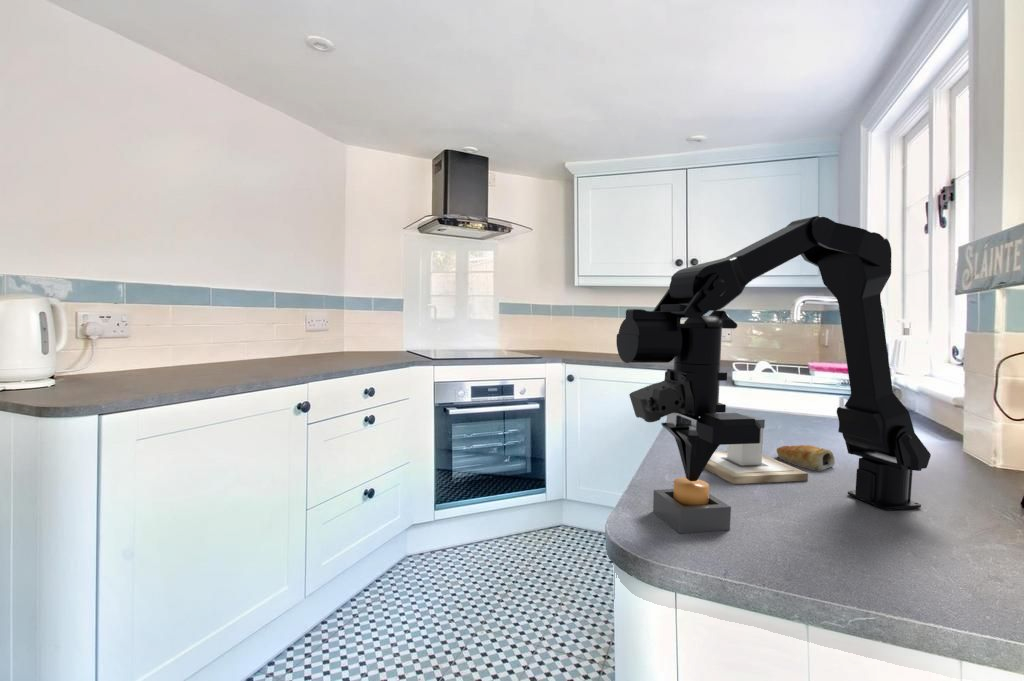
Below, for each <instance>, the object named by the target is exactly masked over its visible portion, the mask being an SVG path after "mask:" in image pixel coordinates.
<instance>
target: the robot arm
mask: <svg viewBox="0 0 1024 681" xmlns="http://www.w3.org/2000/svg"><path fill="white" fill-rule="evenodd" d="M799 256H801V257H802V259H803V261H804V262H807V263H809V264H811V265H813V266H816V267H817V268H818V269H819V273H820V276H821V280H822V283H823V285H824V286H825V287H826V288H827V289H828V291H829V292H830V293H831V294H832V295H833V296H834V298H836V300H837V304H838V310H839V312H838V313H839V316H840V324H841V332H842V338H843V345H844V354H845V361H846V367H847V373H848V374H847V375H848V381H849V387H850V396H849V397H848V399H847V401H846V402H845V404H844V405H843V406H838V407H837V409H836V415H837V419H838V433H840V434H842V436H843V440H844V442H845V445H846V450H847V454H850V455H854V456H857V457H859V458H858V468H856V474H855V475H856V476H855V477H856V478H855V490H848V491H847V495H849V496H851V497H853V498H856V499H858V500H861V501H863V502H865V503H868V504H870V505H873V506H875V507H877V508H880V509H881V510H885V511H889V510H905V509H906V510H907V509H920V508H922V504H921V503H919V502H918V501H914V500H911V497H912V487H913V486H912V484H913V483H912V482H913V472H914V471H916V472H921V471H922V469H927V468H928V465H929V462H930V460H931V457H932V456H931V452H930V451H929V450H928V448H927V447H926V445H924V443H923V441H921V439H920V438H919V437H918V435H917V434H916V433H915V432H916V431H915V428H914V425H913V421H912V418H911V413H910V412H909V410H908V408H906V407H905V405H904V404H903V403H902V402H901V400H900V399H899V398H898V397H897V396H896V394H895V393H894V389H893V385H892V377H891V376H892V375H891V369H890V368H891V367H890V362H889V361H890V360H889V359H890V358H889V353H888V344H887V339H886V337H887V336H886V331H885V330H886V329H885V324H884V322H885V321H884V315H883V308H882V301H881V300H882V299H881V294H882V292H883V290H884V288H885V287H886V284H887V283H888V281H889V279H890V277H891V275H892V247H891V244H890V242H889V239H888V238H886V237H884V236H883V235H882V234H880V233H879V232H871V231H869V230H867V229H865V228H862V227H856V226H854V225H853V226H852V225H848V224H843V223H839V222H836V221H835V220H832V219H830V218H829V217H827V216H826V217H825V216H822V215H815V216H811V217H805V218H802V219H796V220H793V221H791V222H790V223H789V224H787V225H786V226H785V227H782V228H781V229H779V230H777V231H775V232H772V233H771V234H769V235H767V236H765V237H763V238H761V239H759V240H757V241H755V242H753V243H751V244H749V245H747V246H746V247H743V248H742V249H740V250H738V251H736V252H733V253H732V254H729V255H728V256H726V257H723V258H720V259H715V260H710V261H707V262H703V263H699V264H694V265H692V266H689V267H685V268H682V269H679V270H677V271H676V272H675V273H673V275H672V276H671V278H670V283H669V288H668V290H666V292H665V294H664V295H663V296H662V298H661V299H660V301H659V302H658V304H656V306H655V307H654V309H653V310H645V309H639V308H637V309H636V308H634V309H633V308H631V309H630V308H628V309H626V311H625V319H623V321H622V322H621V324H620V327H619V329H618V333H617V334H616V340H615V341H616V349H617V352H618V354H617V355H619V358H620V359H621V361H622V362H623V363H625V364H667V363H670V362H672V361H673V368H666V369H667V370H665V371H664V379H663V380H662V381H659V382H656V383H653V384H650V385H646V386H644V387H642V388H639V389H637V390H634V391H632V392H630V393H629V394H628V395H629V396H628V397H629V398H630V401H631V405H632V409H633V411H634V415H635V417H636V418H638V419H639V418H641V419H642V420H644V421H645V422H646V423H655V422H658V421H660V420H661V418H663V417H666V422H661V423H660V424H661V426H662V427H663V428H664V429H666V430H667V431H668V432H669V433H670V434H671V435H672V436H673V437H674V440H675V442H676V446H677V449H678V452H679V456H680V460H681V463H682V467H683V471H684V474H685V478H687V479H688V480H689V481H697V480H698V479H700V477H701V475H702V474H703V471H704V470H705V466H706V465H707V463H708V461H709V460H710V458H711V456H712V455H713V453H714V452H716V451H717V449H718V448H719V447H720V446H721V445H726V446H728V444H757V443H760V442H761V425H760V424H759V423H758V422H757V421H756V420H755V419H754V418H751V417H748V416H744V415H745V414H741V413H738V412H726V410H727V404H725V403H721V402H720V401H719V400H720V382H721V381H722V382H723V381H728V372H724V371H721V359H722V358H721V355H722V354H721V353H722V334H723V333H722V332H723V329H732V330H733V329H734V330H735V329H737V328H738V323H737V322H736V321H735V320H734V319H733V318H731V317H730V316H729V315H728V314H727V312H726V311H725V310H722V309H724V308H725V307H726V306H728V305H729V304H730V303H732V302H733V301H734V300H735V299H736V298H738V297H739V296H741V294H742V293H743V291H744V290H745V287H747V285H748V284H750V283H751V282H752V281H753V280H756V279H757V278H759V277H760V276H763V275H765V274H767V273H768V272H770V271H772V270H775V269H776V268H777V267H779V266H781V265H783V264H785V263H787V262H789V261H791V260H793V259H795V258H796V257H799ZM710 311H711V313H710V314H708V313H709V312H710ZM706 314H708V315H706ZM682 318H683V319H684V318H685V319H686V320H685V321H684V323H683V322H682V323H681V319H682Z"/></svg>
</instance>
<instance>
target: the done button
mask: <svg viewBox="0 0 1024 681" xmlns="http://www.w3.org/2000/svg"><path fill="white" fill-rule="evenodd" d="M673 489H674V492H673V499H674V500H676V501H677V502H678V503H680V504H681V505H684V506H698V505H708V503H709V494H710V483H708V482H707V481H704V480H703V479H702V480H701V479H700V478H698V480H697V481H689V480H688V479H687V478H686V477H679V478H675V479H674V480H673Z"/></svg>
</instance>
